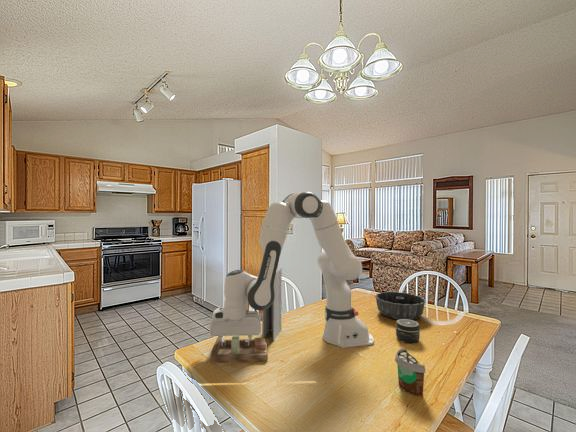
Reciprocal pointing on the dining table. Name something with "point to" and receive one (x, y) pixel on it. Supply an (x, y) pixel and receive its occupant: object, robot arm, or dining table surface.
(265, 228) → the robot arm
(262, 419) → the dining table surface
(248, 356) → the tray
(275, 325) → the brochure
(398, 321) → the jar
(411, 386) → the food container
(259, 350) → the offcut
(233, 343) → the pale green brick
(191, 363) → the dining table surface
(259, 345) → the offcut
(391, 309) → the bundt pan
